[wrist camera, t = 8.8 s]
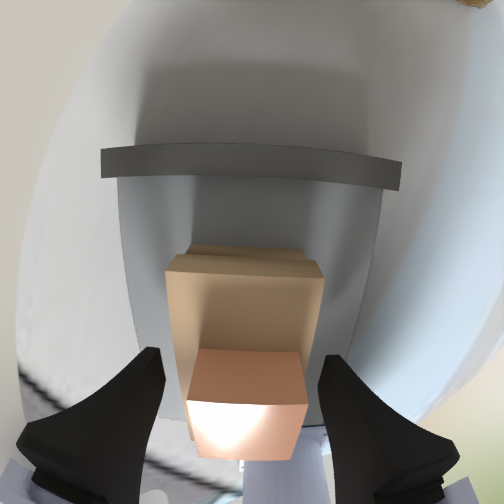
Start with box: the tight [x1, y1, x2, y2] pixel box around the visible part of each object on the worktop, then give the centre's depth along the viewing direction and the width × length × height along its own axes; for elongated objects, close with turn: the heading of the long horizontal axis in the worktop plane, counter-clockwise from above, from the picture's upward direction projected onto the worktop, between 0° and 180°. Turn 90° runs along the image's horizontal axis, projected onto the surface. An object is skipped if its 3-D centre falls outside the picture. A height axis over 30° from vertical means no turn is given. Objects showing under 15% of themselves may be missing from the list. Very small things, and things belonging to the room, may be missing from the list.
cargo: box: [187, 348, 309, 461], centre depth 9 cm, size 4×4×2 cm
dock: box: [101, 143, 402, 426], centre depth 14 cm, size 18×12×4 cm, turn 177°
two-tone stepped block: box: [165, 244, 325, 441], centre depth 12 cm, size 10×5×4 cm, turn 177°
